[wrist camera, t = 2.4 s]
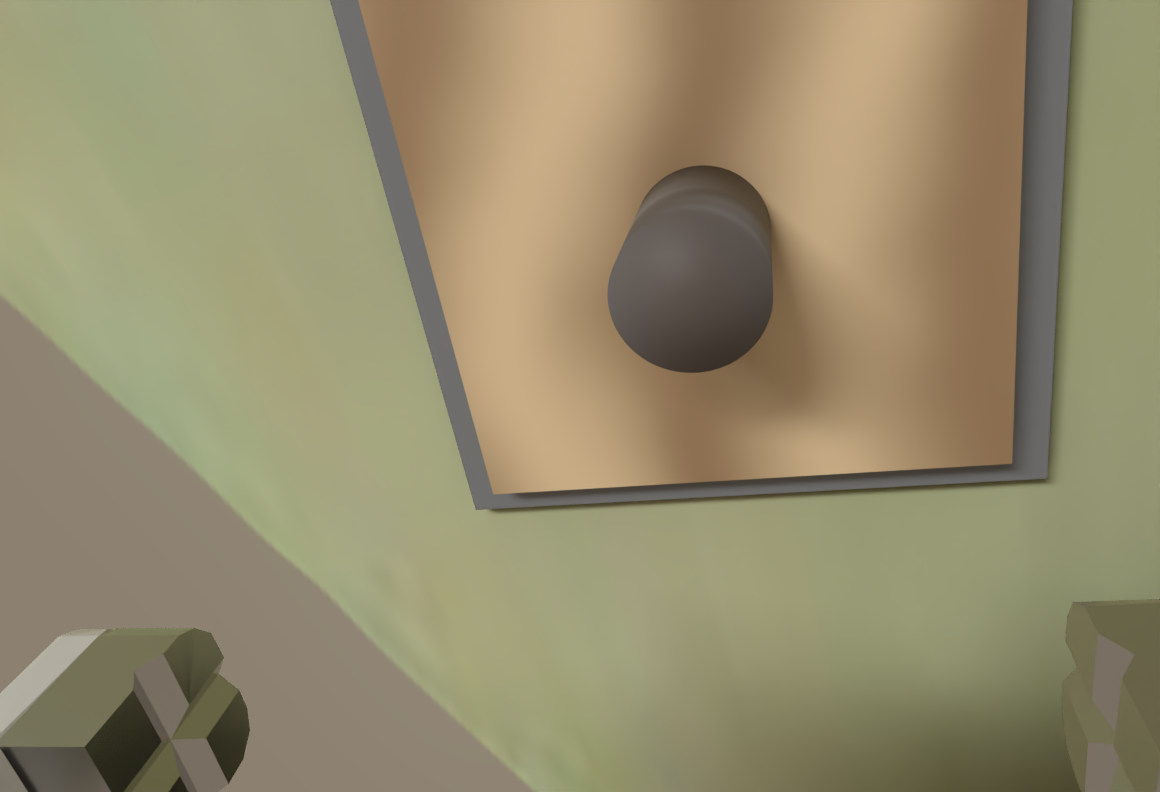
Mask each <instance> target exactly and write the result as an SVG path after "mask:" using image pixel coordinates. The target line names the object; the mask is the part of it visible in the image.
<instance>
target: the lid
mask: <svg viewBox="0 0 1160 792" xmlns="http://www.w3.org/2000/svg"><path fill="white" fill-rule="evenodd" d="M358 2H359V5H360V9H361V13H362V16H363V20H364V24H365V27H366V31H367V35H368V38H369V42H370V46H371V49H372V53H373V57H374V60H375V64H376V68H377V71H378V75H379V79H380V82H381V86H382V90H383V93H384V97H385V100H386V104H387V108H388V111H389V115H390V119H391V122H392V126H393V130H394V133H395V137H396V141H397V144H398V148H399V152H400V155H401V159H402V163H403V166H404V170H405V174H406V177H407V181H408V185H409V188H410V192H411V196H412V199H413V203H414V207H415V210H416V214H417V218H418V221H419V225H420V228H421V232H422V236H423V239H424V243H425V247H426V250H427V254H428V258H429V261H430V265H431V269H432V272H433V276H434V280H435V283H436V287H437V291H438V294H439V298H440V302H441V305H442V309H443V313H444V316H445V320H446V324H447V327H448V331H449V335H450V338H451V342H452V346H453V349H454V353H455V356H456V360H457V364H458V367H459V371H460V375H461V378H462V382H463V386H464V389H465V393H466V397H467V400H468V404H469V408H470V411H471V415H472V419H473V422H474V426H475V430H476V433H477V437H478V441H479V444H480V448H481V452H482V455H483V459H484V463H485V466H486V470H487V474H488V477H489V481H490V484H491V488H492V492H493V494H508V493H525V492H542V491H559V490H576V489H593V488H610V487H627V486H644V485H661V484H677V483H694V482H711V481H728V480H745V479H762V478H779V477H796V476H813V475H830V474H847V473H863V472H880V471H897V470H914V469H931V468H948V467H965V466H982V465H999V464H1012V455H1013V425H1014V395H1015V365H1016V335H1017V304H1018V274H1019V244H1020V214H1021V184H1022V154H1023V124H1024V94H1025V64H1026V33H1027V3H1028V0H358Z"/></svg>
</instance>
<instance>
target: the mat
mask: <svg viewBox="0 0 1160 792" xmlns="http://www.w3.org/2000/svg"><path fill="white" fill-rule="evenodd" d="M330 2H331V5H332V9H333V12H334V16H335V19H336V23H337V26H338V30H339V33H340V37H341V40H342V44H343V47H344V51H345V54H346V58H347V61H348V65H349V68H350V72H351V75H352V79H353V82H354V86H355V89H356V93H357V96H358V100H359V103H360V107H361V110H362V114H363V117H364V121H365V124H366V128H367V131H368V135H369V138H370V142H371V145H372V149H373V152H374V156H375V159H376V162H377V166H378V169H379V173H380V176H381V180H382V183H383V187H384V190H385V194H386V197H387V201H388V204H389V208H390V211H391V215H392V218H393V222H394V225H395V229H396V232H397V236H398V239H399V243H400V246H401V250H402V253H403V257H404V260H405V264H406V267H407V271H408V274H409V278H410V281H411V285H412V288H413V292H414V295H415V299H416V302H417V306H418V309H419V313H420V316H421V320H422V323H423V327H424V330H425V334H426V337H427V341H428V344H429V348H430V351H431V355H432V358H433V362H434V365H435V369H436V372H437V376H438V379H439V383H440V386H441V390H442V393H443V397H444V400H445V404H446V407H447V411H448V414H449V417H450V421H451V424H452V428H453V431H454V435H455V438H456V442H457V445H458V449H459V452H460V456H461V459H462V463H463V466H464V470H465V473H466V477H467V480H468V484H469V487H470V491H471V494H472V498H473V501H474V505H475V508H476V510H482V509H500V508H518V507H536V506H555V505H573V504H591V503H609V502H628V501H646V500H664V499H682V498H701V497H719V496H737V495H755V494H774V493H792V492H810V491H828V490H847V489H865V488H883V487H901V486H920V485H938V484H956V483H974V482H993V481H1011V480H1029V479H1047V471H1048V453H1049V434H1050V416H1051V397H1052V379H1053V360H1054V342H1055V323H1056V305H1057V286H1058V268H1059V249H1060V231H1061V212H1062V194H1063V175H1064V156H1065V138H1066V119H1067V101H1068V82H1069V64H1070V45H1071V27H1072V8H1073V0H1028V3H1027V33H1026V64H1025V94H1024V124H1023V154H1022V184H1021V214H1020V244H1019V274H1018V304H1017V335H1016V365H1015V395H1014V425H1013V455H1012V464H999V465H982V466H965V467H948V468H931V469H914V470H897V471H880V472H863V473H847V474H830V475H813V476H796V477H779V478H762V479H745V480H728V481H711V482H694V483H677V484H661V485H644V486H627V487H610V488H593V489H576V490H559V491H542V492H525V493H508V494H493V492H492V488H491V484H490V481H489V477H488V474H487V470H486V466H485V463H484V459H483V455H482V452H481V448H480V444H479V441H478V437H477V433H476V430H475V426H474V422H473V419H472V415H471V411H470V408H469V404H468V400H467V397H466V393H465V389H464V386H463V382H462V378H461V375H460V371H459V367H458V364H457V360H456V356H455V353H454V349H453V346H452V342H451V338H450V335H449V331H448V327H447V324H446V320H445V316H444V313H443V309H442V305H441V302H440V298H439V294H438V291H437V287H436V283H435V280H434V276H433V272H432V269H431V265H430V261H429V258H428V254H427V250H426V247H425V243H424V239H423V236H422V232H421V228H420V225H419V221H418V218H417V214H416V210H415V207H414V203H413V199H412V196H411V192H410V188H409V185H408V181H407V177H406V174H405V170H404V166H403V163H402V159H401V155H400V152H399V148H398V144H397V141H396V137H395V133H394V130H393V126H392V122H391V119H390V115H389V111H388V108H387V104H386V100H385V97H384V93H383V90H382V86H381V82H380V79H379V75H378V71H377V68H376V64H375V60H374V57H373V53H372V49H371V46H370V42H369V38H368V35H367V31H366V27H365V24H364V20H363V16H362V13H361V9H360V5H359V2H358V0H330Z"/></svg>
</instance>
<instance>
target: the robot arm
mask: <svg viewBox="0 0 1160 792" xmlns="http://www.w3.org/2000/svg"><path fill="white" fill-rule="evenodd" d="M1066 643H1067V645H1068V647H1069V649H1070V652H1071V654H1072V656H1073V658H1074V661H1075V663H1076V665H1077V667H1078V668H1076V669H1075V670H1074V671H1073V672H1072V673H1071V674H1070V675H1069V676H1068V677H1067V678H1066V679H1065V680H1064V681H1063V692H1062V717H1063V725H1064V732H1065V740H1066V747H1067V750H1068V754H1069V758H1070V761H1071V765H1072V768H1073V772H1074V775H1075V777H1076V780H1077V783H1078V785H1079V788H1080V791H1081V792H1160V599H1148V600H1119V601H1091V602H1073V603H1072V605H1071V608H1070V611H1069V613H1068V616H1067V628H1066ZM223 659H224V657H223V655H222V653H221V651H220V649H219V647H218V645H217V643H216V641H215V640H214V638H213V636H212V634H211V633H209V632H206V631H202V630H199V629H196V628H117V629H115V630H110V629H81V630H80V629H79V630H75V631H73V632H70V633H67V634H64V635H62V636H59V637H58V638H57V639H56V640H55V641H54V642H53V643H52V644H51V645H50V646H49V647H48V648H47V649H46V650H45V651H43V652H42V653H41V654H40V655H39V656H38V657H37V659H35V660H34V661H33V662H32V663H31V664H30V665H29V666H28V667H27V668H26V669H25V670H24V671H23V672H22V673H21V674H20V675H19V676H18V677H17V678H16V679H15V680H14V681H13V682H12V683H11V684H10V685H9V686H8V687H7V688H6V689H4V690H3V692H2V693H0V792H218V791H219V790H221V789H222V788H224V787H225V786H226V785H227V784H229V782H230V780H231V779H232V777H233V775H234V773H235V772H236V770H237V769H238V767H239V765H240V764H241V762H242V760H243V758H244V753H245V749H246V744H247V740H248V736H249V731H250V728H249V720H248V712H247V707H246V704H245V702H244V700H243V698H242V695H241V693H240V691H239V690H238V689H237V688H236V687H235V686H233V685H232V684H231V683H230V682H228V681H227V680H226V679H225V678H223V677H222V676H221V675H220V674H219V672H220V669H221V665H222V662H223Z"/></svg>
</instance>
